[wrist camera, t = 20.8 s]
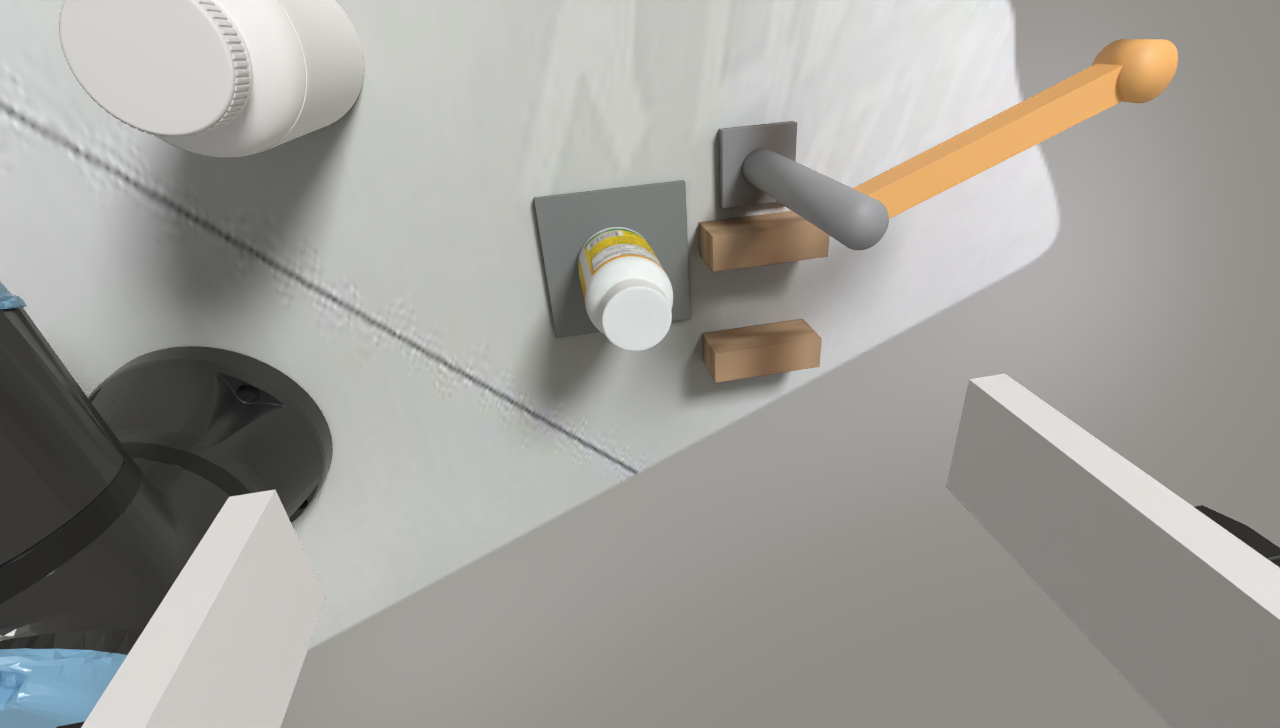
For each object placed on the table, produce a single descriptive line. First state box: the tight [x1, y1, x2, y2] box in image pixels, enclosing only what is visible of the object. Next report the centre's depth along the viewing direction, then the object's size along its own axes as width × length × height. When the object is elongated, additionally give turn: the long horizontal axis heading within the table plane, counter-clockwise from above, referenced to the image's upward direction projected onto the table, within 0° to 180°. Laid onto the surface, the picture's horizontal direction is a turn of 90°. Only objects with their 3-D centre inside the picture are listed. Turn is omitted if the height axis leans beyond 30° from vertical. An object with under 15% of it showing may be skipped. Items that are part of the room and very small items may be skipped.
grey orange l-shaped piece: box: [743, 39, 1178, 250], centre depth 34 cm, size 3×17×14 cm, turn 115°
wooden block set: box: [699, 121, 829, 383], centre depth 43 cm, size 8×17×4 cm, turn 5°
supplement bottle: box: [578, 227, 673, 351], centre depth 38 cm, size 5×5×10 cm
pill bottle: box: [59, 0, 364, 158], centre depth 28 cm, size 8×8×15 cm
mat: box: [534, 180, 691, 338], centre depth 43 cm, size 10×10×1 cm
